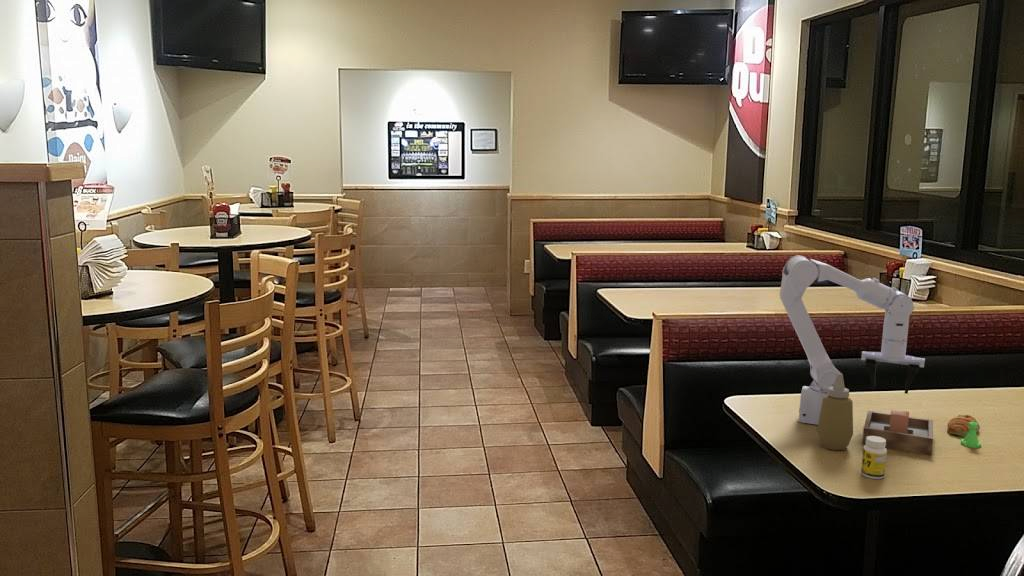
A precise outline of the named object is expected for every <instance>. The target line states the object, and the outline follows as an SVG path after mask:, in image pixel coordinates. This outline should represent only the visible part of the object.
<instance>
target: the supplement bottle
mask: <svg viewBox="0 0 1024 576" xmlns="http://www.w3.org/2000/svg"><path fill="white" fill-rule="evenodd" d="M885 447H886V440H885V439H884V438H882V437H878V436H867V437H866V444H864V446H863V448H862V458H861V468H860V469H861V470H860V473H861V475H863V476H864V477H866V478H868V479H872V480H881V479H884V478H885V473H886V467H887V466H886V463H887V455H888V450H887V448H885Z"/></svg>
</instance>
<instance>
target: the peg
mask: <svg viewBox="0 0 1024 576" xmlns="http://www.w3.org/2000/svg"><path fill="white" fill-rule="evenodd" d="M890 414H891V416H890V426H889V431H894V432H900V433H907V430H908V420H909V417H910V411H905V410H899V409H890Z"/></svg>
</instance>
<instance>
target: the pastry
mask: <svg viewBox="0 0 1024 576" xmlns="http://www.w3.org/2000/svg"><path fill="white" fill-rule="evenodd" d="M972 421H974V422H976V423H977V424H978V428H977V429H975V431H976V434H977V433H978V432H979V431H980V429H981V426H980V425H979V422H978V421H977V420H976V418H975V417H974V416H972V415H969V414H958V415H957V416H955V417H953V418H951V419H950V420H949V421H948V423H947V433H948V434H951V435H957V436H960V437H966V435H967V433H968V432H969V430H970V428H969V427H968V423H969V422H972Z"/></svg>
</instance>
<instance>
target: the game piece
mask: <svg viewBox="0 0 1024 576" xmlns="http://www.w3.org/2000/svg"><path fill="white" fill-rule="evenodd" d="M978 425H979V423H978V424H977V423H976V422H974V421H972V422H969V423H968V427H969V428H970V430H969V432H968V433H967V435H966V436H964V438H962V439H961V440H960V444H961V445H962V446H964V447H968V448H972V449H973V448H975V449H977V448H980V447H982V443H981V442H980V441H979V438H978V435H977V433H976V431H975V429H977V428H978Z"/></svg>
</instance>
